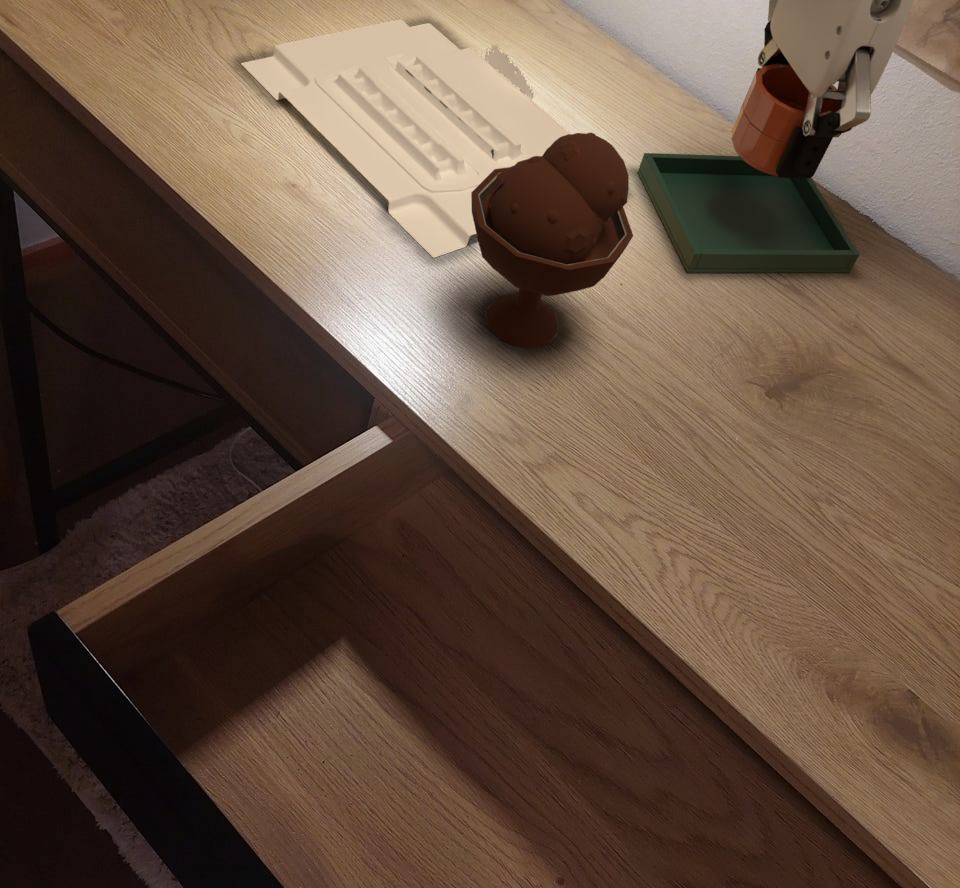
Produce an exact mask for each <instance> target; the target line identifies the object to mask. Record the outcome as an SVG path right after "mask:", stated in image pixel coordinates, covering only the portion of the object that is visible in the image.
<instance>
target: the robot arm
mask: <svg viewBox="0 0 960 888" xmlns="http://www.w3.org/2000/svg"><path fill="white" fill-rule="evenodd" d="M914 2H915V0H768V13H767V14H768V15H767V21H768V22H767V23H766V25H765V27H764V29H763V30H764V41H763V42H764V43H763V44H764V45H763V48H762V49H761V50H760V51H759V53H758V57H757V65H758V66H759V67H758V68H757V69H756V71H755V74H754V76H753V79H752V81H751V84H752V82H753V80H754V77H755V75H756V73H757V72H758V71H759V70H760V69H761V68H762V67H763V66H767V65H771V64H788V65H791V67H792V68H793V70H794V71H795V72H796V74H797V75H798V77H799V78H800V80H801V81H802V83H803V84H804V85H805V87H806V88H807V89H808V91H809V95H808V100H807V105H806V111H805V116H804V121H803V127H802V128H800V127H796V128H795V130H794V132H793V134H792V136H791V138H790V140H789V142H788V145H787V147H786V149H785V151H784V153H783V155H782V157H781V159H780V161H779V164H778V166H777V168H776V173H777V175H778V176H779V177H780V178H804V179H809V178H813V177H814V176H815V174H816V172H817V170H818V168H819V166H820V165H821V163H822V160H823V158H824V156H825V154H826V152H827V151H828V149H829V146H830V145H831V143H832V141H833V139H834V138H840V137H841V136H842V134H845V133H847V132H849V131H852V129H853V128H856V127H857V126H859V125H861V124H863V123H866V122H867V121H868V120H869V119H870V117H871V114H872V97H871V96H872V94H873V92H874V91H875V89H876V87H877V85H878V84H879V82H880V80H881V78H882V76H883V74H884V71H886V67H887V66H888V63H889V62H890V60H891V57H892V55H893V53H894V51H895V48H896V46H897V44H898V41H899V39H900V37H901V34H902V33H903V31H904V29H905V28H904V27H905V25H906V22H907V21H908V18H909V16H910V13H911V10H912V8H913V6H914ZM837 82H838V84H837V88H836V89H837V90H828V88H829V86H830V84H832V85H833V86H835V84H836V83H837ZM751 84H750V86H749V88H748V90H747V93H746V96H747V94H748V91H749V89H750V87H751ZM746 96H745V97H744V100H743V102H742V104H741V107H740V109H739V110H741V108H742V106H743V103H744V101H745V98H746ZM823 99H833V105H832V110H831V113H828V114H826V115H823V116H820V112H821V107H822V101H823Z"/></svg>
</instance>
